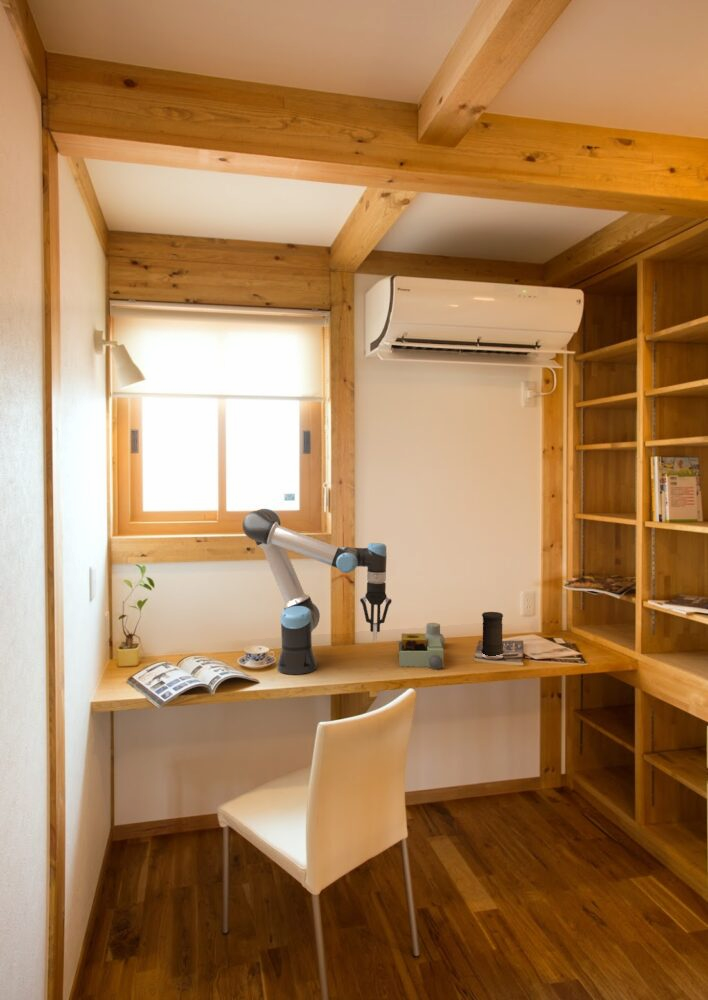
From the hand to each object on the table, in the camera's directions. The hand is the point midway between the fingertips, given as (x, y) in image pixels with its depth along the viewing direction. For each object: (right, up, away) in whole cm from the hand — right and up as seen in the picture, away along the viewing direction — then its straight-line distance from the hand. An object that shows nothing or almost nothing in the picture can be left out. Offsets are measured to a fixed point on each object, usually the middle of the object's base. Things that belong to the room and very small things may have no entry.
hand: (374, 639), depth 262 cm
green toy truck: (+18, -9, -1) cm, 20 cm away
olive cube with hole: (+16, -9, 0) cm, 18 cm away
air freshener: (+26, -8, +19) cm, 33 cm away
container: (+48, -8, +3) cm, 49 cm away
